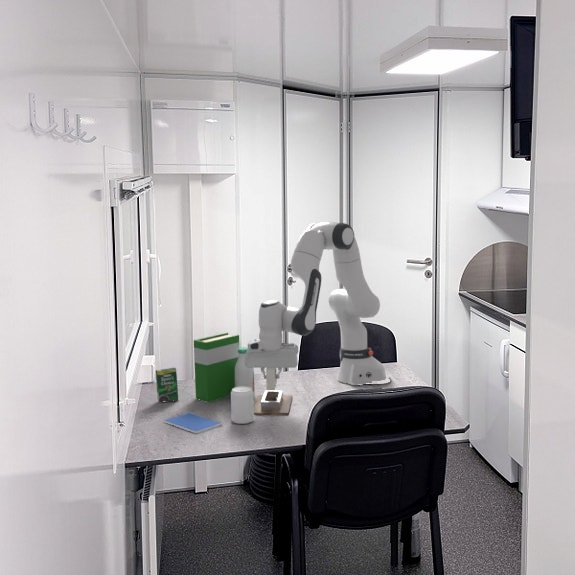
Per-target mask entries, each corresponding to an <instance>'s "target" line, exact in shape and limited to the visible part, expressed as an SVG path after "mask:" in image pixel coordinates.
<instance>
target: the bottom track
mask: <svg viewBox="0 0 575 575" xmlns="http://www.w3.org/2000/svg"><path fill="white" fill-rule="evenodd" d="M283 392H284V391H283V390H264V393H263V394H262V395H263V397H262V400H261V410H280V407H281V403H282V399H283V395H284V394H283ZM268 399H277V401H267V400H268Z"/></svg>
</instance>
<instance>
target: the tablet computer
mask: <svg viewBox="0 0 575 575" xmlns="http://www.w3.org/2000/svg"><path fill="white" fill-rule="evenodd" d="M163 421H164V422H166V423H168V424H167V425H169V424H171V425H170V426H172V425H174V426H173V427H175V426H176V427H175V428H178V427H179V429H181V430H185V431H187V432H189V431H190V433H192V434H197V433H198V434H200V433H204V432H207V431H210V430H213V429H216V428H219V427H221V426H222V425H223V423H222V422H220V421H218V420H217V421H216V420H213V419H210V418H207V417H203V416H200V415H198V414H196V413H192V412H186V413H183V414H180V415H177V416H173V417H170V418H167V419H164V420H163ZM166 423H165V424H166ZM198 434H197V435H198Z"/></svg>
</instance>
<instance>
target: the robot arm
mask: <svg viewBox="0 0 575 575" xmlns="http://www.w3.org/2000/svg"><path fill="white" fill-rule="evenodd" d="M359 248H360V247H359V245H358V242H357V239H356V237H355V233H354V229H353V228H352V226H351V225H350V224H347V223H345V222H337V221H336V222H335V221H328V222H314V223H310V224H309V225H308V227H307V228H306V229H305V230H304V231H303V232H302V233H301V235H300V237H299V239H298V241H297V243H296V245H295V248H294V251H293V254H292V257H291V260H290V268H291V271H292V272H293V274H294V275H295V276H296V277H297V278H299V279H300V280H302V281H303V283H304V285H305V286H304V293H303V298H302V303H301V306H300V307H294V306H293V307H292V306H288V305H286V304H283V303H281V302H280V301H279V300H277V299H270V300H269V299H268V300H266V301H263V302H262V303H260V306H259V310H258V326H259V334H258V338H255V339H251V340H250V341H248V342H247V348H248V350H247V351H246V354H245V366H246V367H247V368H259V369H260V371H261V373H262V374H263V379H265V380H266V369H267V367H275V368H277V370H278V371H277V373H276V374H275V379H277V380H279V379H280V374H281V372H282V371H283V368H286V369H287V368H288V369H289V368H292V369H293V368H297V366H298V364H299V361H298V353H299V346H298V345H297V344H295V343H294V342H293V343H292V342H290V343H288V342H287V343H286V342H284V343H283V331H284V332H287V333H292V334H296V335H298V336H302V337H306V336H308V335H309V334H311V333H312V332H313V330H314V329H315V327H316V324H317V309H318V303H319V298H320V294H321V293H320V291H321V287H322V273H321V272H320V263H321V260H322V256H323V253H324V250H328V251H329V250H332V255H333V262H334V269H335V275H336V276H335V277H336V280H337V281H338V283H340V285H342V286H343V288H336V289H334V290H333V291H331V293H330V294H329V297H328V305H329V307H330V309H331V310H332V311H333V313H334V314H335V317H336V318H337V322H338V325H339V329H340V348H339V360H340V366H339V372H338V376H337V381H338V382H340V383H342V382H343V384H346V383H348V385H350V384H351V385H350V386H352V385H358V384H366V383H372V381H381V380H385V379H386V374H387V373H386V370H385V367H384V365H383V363H382V362H380V361H379V360H378V359H376V358H375V357H374V356H373V355H374V351H373V350H372V348H371V347H368V330H367V328H366V327H365V325H364V324H363V322H362V321H361V319H368V318H374V317H376V316H377V315H378V313H379V311H380V309H381V308H380V307H381V302H380V299H379V297H378V296H377V295H376V294H374V292H373V291H372V290H371V288H370V286H369V284H368V282H367V281H366V277H365V275H364V271H363V266H362V260H361V253H360V249H359ZM360 318H361V319H360Z"/></svg>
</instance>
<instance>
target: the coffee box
mask: <svg viewBox="0 0 575 575" xmlns="http://www.w3.org/2000/svg"><path fill="white" fill-rule="evenodd" d="M177 374H178V373H177V369H176V367H170V368H162V369H155V380H156V393H157V395H156V396H157V397H156V398H157V402H158V401H159V402H163V401H171V402H176V401H175V400H178V401H179V390H178V375H177ZM173 400H174V401H173ZM159 402H158V403H159Z"/></svg>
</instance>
